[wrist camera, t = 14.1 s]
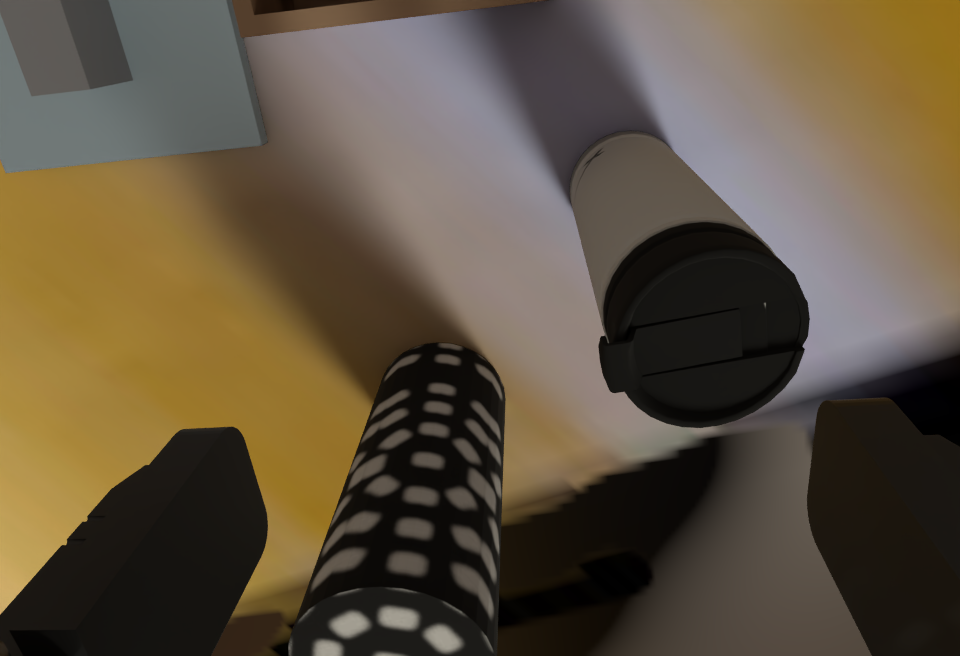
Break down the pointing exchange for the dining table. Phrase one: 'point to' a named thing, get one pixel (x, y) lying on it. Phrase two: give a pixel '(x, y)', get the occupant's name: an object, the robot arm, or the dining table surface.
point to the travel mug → (682, 287)
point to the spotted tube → (416, 519)
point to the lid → (122, 81)
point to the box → (341, 12)
